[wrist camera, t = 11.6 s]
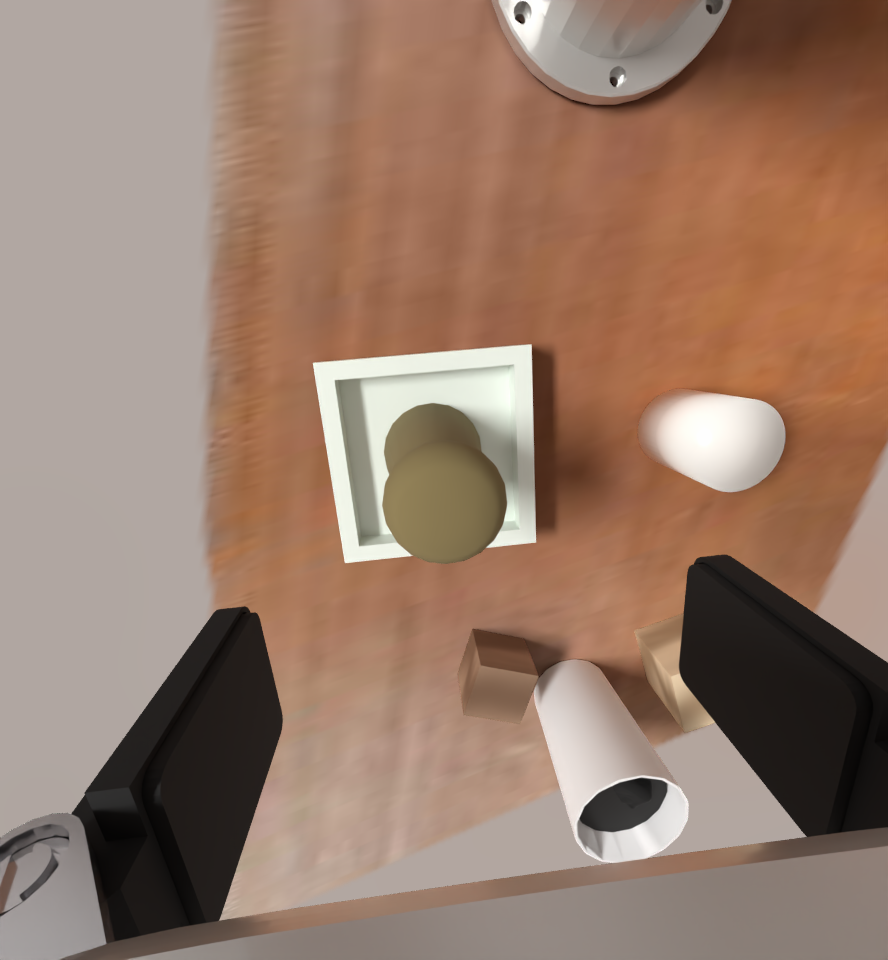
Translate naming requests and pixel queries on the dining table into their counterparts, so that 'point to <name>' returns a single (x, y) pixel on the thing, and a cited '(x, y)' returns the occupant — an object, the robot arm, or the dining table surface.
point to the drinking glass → (606, 767)
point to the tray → (396, 389)
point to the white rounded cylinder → (713, 437)
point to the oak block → (670, 672)
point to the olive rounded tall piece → (441, 486)
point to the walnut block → (496, 677)
